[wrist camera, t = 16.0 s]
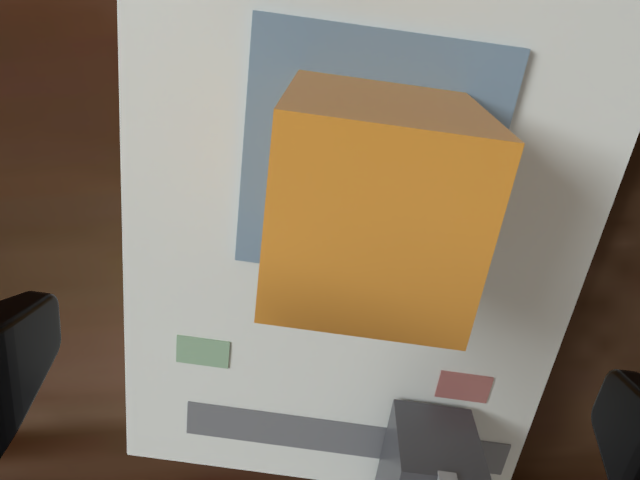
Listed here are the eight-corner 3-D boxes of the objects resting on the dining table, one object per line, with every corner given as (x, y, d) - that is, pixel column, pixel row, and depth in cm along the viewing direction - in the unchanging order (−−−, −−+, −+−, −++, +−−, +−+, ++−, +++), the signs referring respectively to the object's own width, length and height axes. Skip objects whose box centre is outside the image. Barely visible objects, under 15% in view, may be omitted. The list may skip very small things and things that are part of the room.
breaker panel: (490, 467, 25) (503, 510, 23) (143, 420, 25) (124, 459, 23) (654, -8, 17) (697, -8, 15) (140, -81, 17) (110, -91, 15)
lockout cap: (431, 244, 18) (465, 351, 13) (282, 224, 18) (254, 323, 13) (466, 92, 16) (524, 143, 11) (298, 69, 16) (273, 108, 11)
